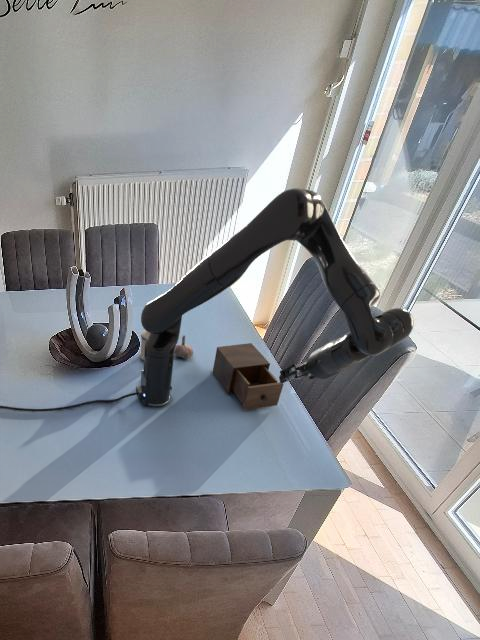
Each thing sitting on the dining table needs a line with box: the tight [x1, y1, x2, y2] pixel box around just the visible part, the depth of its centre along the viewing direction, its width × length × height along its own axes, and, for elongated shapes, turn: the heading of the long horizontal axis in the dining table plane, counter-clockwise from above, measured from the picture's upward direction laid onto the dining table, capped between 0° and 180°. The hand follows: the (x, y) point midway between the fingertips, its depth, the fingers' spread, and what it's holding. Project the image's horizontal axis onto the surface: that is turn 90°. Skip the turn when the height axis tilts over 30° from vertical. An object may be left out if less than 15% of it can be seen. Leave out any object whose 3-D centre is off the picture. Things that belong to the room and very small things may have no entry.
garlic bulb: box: [174, 334, 194, 360], centre depth 169 cm, size 8×7×8 cm
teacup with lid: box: [140, 329, 150, 361], centre depth 168 cm, size 12×9×12 cm
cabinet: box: [212, 342, 271, 395], centre depth 156 cm, size 15×13×10 cm
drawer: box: [231, 366, 285, 411], centre depth 148 cm, size 15×11×8 cm
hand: (295, 377), depth 125 cm, fingers open, 8 cm apart
